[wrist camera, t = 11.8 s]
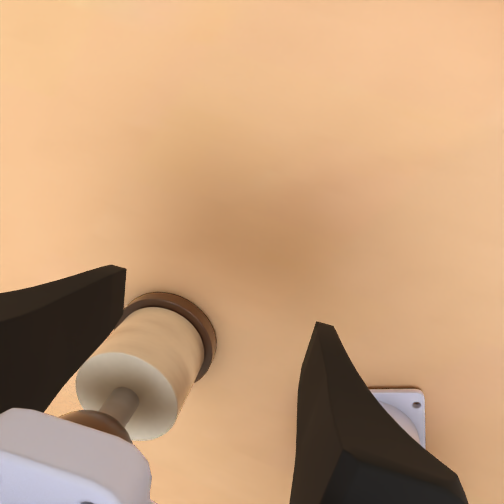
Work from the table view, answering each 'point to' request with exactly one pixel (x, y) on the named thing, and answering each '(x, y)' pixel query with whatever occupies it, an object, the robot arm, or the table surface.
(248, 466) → the table surface
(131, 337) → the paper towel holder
